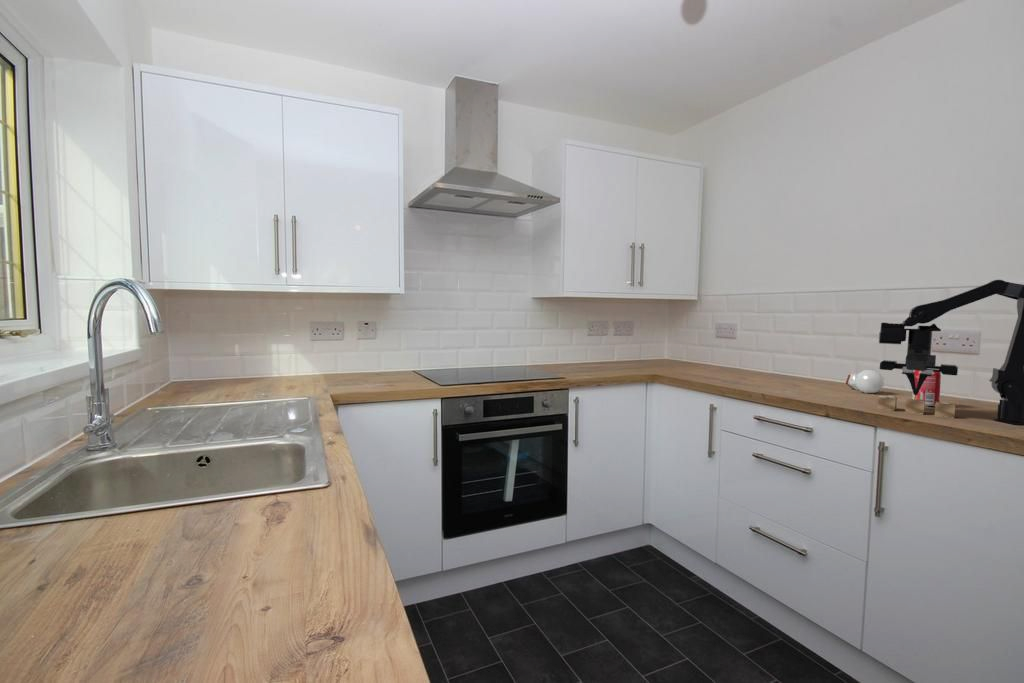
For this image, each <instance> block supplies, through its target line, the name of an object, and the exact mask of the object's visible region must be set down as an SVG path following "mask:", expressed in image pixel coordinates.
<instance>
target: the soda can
mask: <svg viewBox="0 0 1024 683" xmlns="http://www.w3.org/2000/svg"><path fill="white" fill-rule="evenodd" d="M913 372H915V381H916V388H917V384H918V380H919V375H920V373H921V371H920V370H914V371H913ZM941 378H942V373H941V372H933V375H932V376H928V377H927V378H926V379H925V381H924V382H923V384H922V386H921V388H920V390H919V392H918V394H917V395H914V393H913V392H912V398H911V399H915V400H925V406H935V403H936V402H940V400H941V399H940V396H941V395H940V394H941V381H942V380H941Z"/></svg>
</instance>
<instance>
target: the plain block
mask: <svg viewBox="0 0 1024 683" xmlns="http://www.w3.org/2000/svg"><path fill="white" fill-rule="evenodd" d="M904 408H905V410H904V412H905V411H908V412H916V413H924V414H925V411H926V410H925V409H926V407H925V400H915V399H912V398H906V400H905V407H904Z"/></svg>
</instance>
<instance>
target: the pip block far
mask: <svg viewBox="0 0 1024 683" xmlns="http://www.w3.org/2000/svg"><path fill="white" fill-rule="evenodd" d="M897 403H898V397H896V396H895V395H894V396H893V395H878V396H877V408H881V409H891V410H895V409H896V410H897ZM896 410H895V411H896Z"/></svg>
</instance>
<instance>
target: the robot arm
mask: <svg viewBox="0 0 1024 683" xmlns="http://www.w3.org/2000/svg"><path fill="white" fill-rule="evenodd" d="M994 295H998V296H1001V297H1005V298H1009V299H1012V300H1016V310H1017V319H1016V321H1015V322H1016V323H1015V325H1014V330H1013V332H1012V336H1011V339H1010V343H1009V346H1008V349H1007V353H1006V356H1005V359H1004V363H1002V365H1001V367H1000V368H999V369H998V368H994V367H993V368H992V375H991V378H990V379H989V380H988V381H989V382H991V388H992V389H993V390H994V391H995V393H998V394H999V397H1000V398H1001V399H999V404H997V415H996V418H992V420H993V421H995V422H996V421H997V422H1003V423H1005V424H1006V423H1007V424H1010V425H1016V426H1017V425H1019V426H1020V425H1022V426H1024V284H1020V283H1015V282H1009V281H1005V280H1003V279H994V280H991V281H989V282H987V283H985V284H983V285H980V286H977V287H975V288H972V289H969V290H967V291H963V292H962V293H959V294H956V295H953V296H950V297H947V298H945V299H942V300H937V301H932V302H928V303H924V304H919V305H916V306H914V307H912V308H911V309H910V311H909V314H908V315H909V316H908V317H906V319H905V320H903V322H901V323H889V322H881V323H880V329H879V334H878V343H879V344H883V345H884V344H886V345H887V344H889V345H902V342H906V340H907V349H906V355H905V356H906V357H905V361H904V362H905V363H898V362H897V360H889V359H888V360H887V359H885V360H882V361H880V363H879V370H883V371H893V370H894V369H895V370H901V371H902V372H901V374H902V375H906V377H907V379H908V382H909V383H910V386H911V389H912V394H913V393H914V395H917V394H918V392H919V390H920V388H921V386H922V384H923V382H924V381H925V379H926V378H927V377H928V376H932V375H933V372H940V373H941V375H944V376H945V375H946V376H958V372H959V371H958V370H959V367H958V366H957V365H956V364H948V363H947V364H943V363H940V365H939V366H938V365H936V359H937V355H936V354H935V355H934V354H932V339H933V332H941V331H942V329H941V328H939V327H938V325H936V323H932V324H930V325H924V324H927V323H931V322H933V321H935V320H936V319H938V318H939V317H942V316H943V315H945V314H947V313H948V312H950V311H953V310H956V309H958V308H961V307H963V306H967V305H969V304H972V303H975V302H978V301H980V300H983V299H986V298H989V297H991V296H994ZM918 324H923V325H918ZM916 325H917V328H905V327H913V326H916ZM907 331H908V335H907ZM907 336H908V338H907ZM915 370H920V371H921V373H920V375H919V380H918V384H917V388H916V381H915V372H914V371H915Z"/></svg>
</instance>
